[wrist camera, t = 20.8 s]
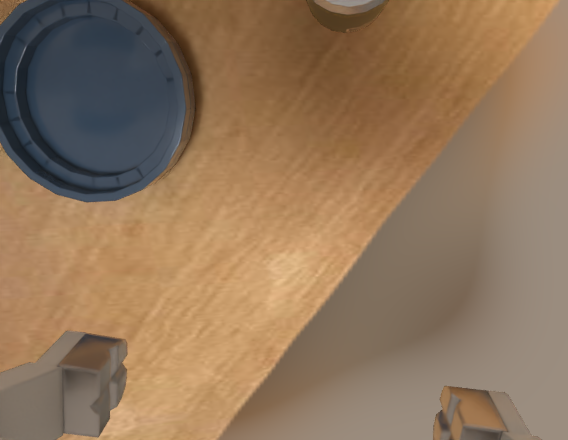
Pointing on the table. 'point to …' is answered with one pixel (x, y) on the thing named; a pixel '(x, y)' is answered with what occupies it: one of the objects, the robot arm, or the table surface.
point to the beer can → (346, 13)
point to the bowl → (92, 97)
